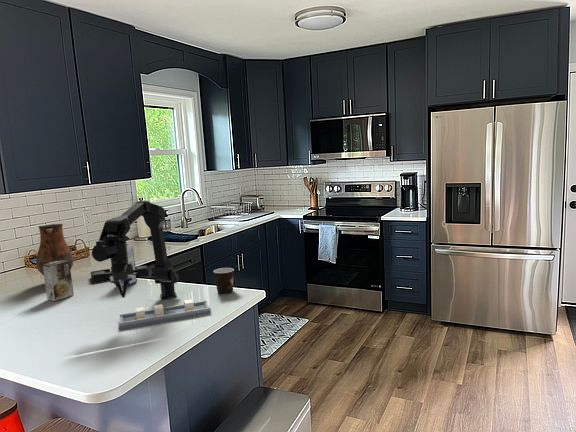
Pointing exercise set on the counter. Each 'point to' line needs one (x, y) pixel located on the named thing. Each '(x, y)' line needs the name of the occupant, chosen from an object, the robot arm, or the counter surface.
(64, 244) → the pitcher
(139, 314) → the beige block
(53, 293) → the coffee box
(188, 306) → the cream block
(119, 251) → the robot arm
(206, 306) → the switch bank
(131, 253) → the milk carton
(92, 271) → the battery charger
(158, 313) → the off-white rectangular block
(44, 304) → the counter surface
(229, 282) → the coffee mug
